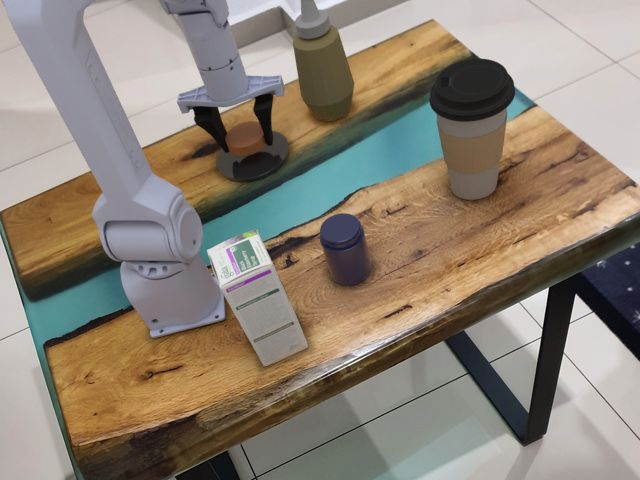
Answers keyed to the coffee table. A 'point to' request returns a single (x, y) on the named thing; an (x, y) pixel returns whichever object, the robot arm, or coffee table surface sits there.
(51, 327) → the coffee table surface
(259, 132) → the jar lid
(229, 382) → the coffee table surface
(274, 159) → the coaster
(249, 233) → the syrup box
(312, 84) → the squeeze bottle
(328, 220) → the jar
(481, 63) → the coffee cup
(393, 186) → the coffee table surface
